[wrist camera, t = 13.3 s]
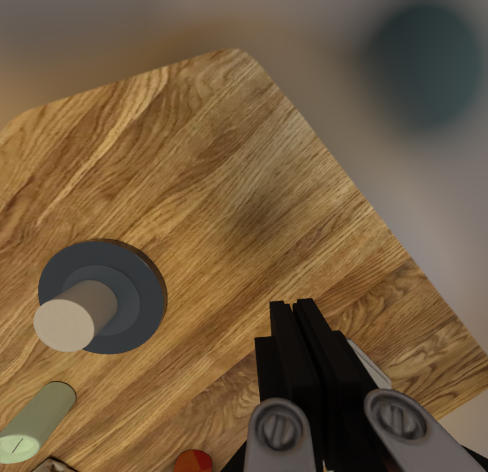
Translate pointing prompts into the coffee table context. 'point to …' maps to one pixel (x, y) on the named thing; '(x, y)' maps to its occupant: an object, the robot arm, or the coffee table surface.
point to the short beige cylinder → (75, 316)
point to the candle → (35, 423)
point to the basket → (52, 467)
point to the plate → (119, 281)
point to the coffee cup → (193, 462)
